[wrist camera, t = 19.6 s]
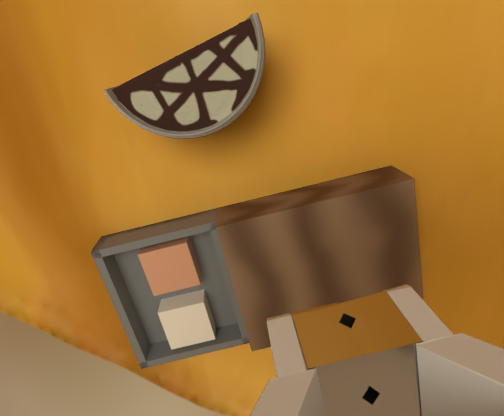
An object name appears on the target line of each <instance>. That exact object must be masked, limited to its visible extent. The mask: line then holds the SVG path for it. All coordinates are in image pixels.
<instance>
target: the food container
mask: <svg viewBox="0 0 504 416" xmlns="http://www.w3.org/2000/svg"><path fill="white" fill-rule="evenodd" d="M264 63H265V39H264V34H263V28H262V24H261V21H260V18H259V15H258V13H253V14H252V15H251V16H250V17H249V18H248V19H247V20H246V21H244V22H241V23H239V24H238V25H236V26H235V27H233V28H231V29H229V30H227V31H225V32H223V33H221V34H219V35H217V36H215V37H213V38H211V39H209V40H207V41H206V42H204V43H202V44H200V45H197V46H196V47H194V48H192V49H190V50H188V51H186V52H184V53H182V54H180V55H178V56H175V57H174V58H172V59H170V60H169V61H167V62H165V63H163V64H161V65H159V66H157V67H155V68H153V69H151V70H149V71H147V72H145V73H143V74H141V75H139V76H137V77H135V78H133V79H131V80H129V81H127V82H125V83H124V84H122V85H120V86H116V87H113V88H109V89H106V90H104V93H105V94H106V96H107V97H108V99H109V100H110V102H111V103H112V104H113V105H114V106H115V107H116V108H117V109H118V110H119V112H120V113H122V114H123V115H124V116H125V117H126V118H128V119H129V120H130V121H131V122H133V123H135V124H136V125H138V126H139V127H141V128H143V129H145V130H147V131H150V132H152V133H154V134H158V135H161V136H165V137H169V138H178V139H191V138H199V137H203V136H208V135H210V134H213V133H215V132H218V131H220V130H222V129H223V128H225V127H227V126H228V125H230V124H231V123H232V122H234V121H235V120H236V119H237V118H238V117H240V115H241V114H242V113H243V112H244V111H245V110H246V109H247V107H248V106H249V104H250V103H251V101H252V100H253V98H254V96H255V94H256V92H257V90H258V87H259V85H260V83H261V79H262V75H263V71H264Z"/></svg>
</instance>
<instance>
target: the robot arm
mask: <svg viewBox="0 0 504 416" xmlns="http://www.w3.org/2000/svg"><path fill="white" fill-rule="evenodd" d="M267 327H268V333H269V338H270V343H271V349H272V354H273V360H274V365H275V370H276V376H277V378H273V379H270V380H269V381H268V383H267V385H266V387H265V389H264V390H263V392H262V394H261V396H260V398H259V400H258V402H257V403H256V405H255V407H254V409H253V411H252V413H251V414H250V416H504V349H502V348H499V347H497V346H494V345H492V344H489V343H487V342H484V341H481V340H479V339H476V338H474V337H471V336H469V335H466V334H463V333H460V334H455V335H454V334H453V333H452V332H451V331H450V329H449V328H448V327H447V326H446V325H445V324H444V323H443V322H442V321H441V319H440V318H439V317H438V316H437V315H436V314H435V313H434V312H433V310H432V309H431V308H430V307H429V306H428V305H427V304H426V303H425V302H424V300H423V299H422V298H421V297H420V296H419V295H418V294H417V293H416V291H415V290H414V289H413V288H412V287H411V286H409V285H407V284H406V285H402V286H398V287H395V288H391V289H387V290H384V291H383V292H379V293H375V294H371V295H367V296H363V297H359V298H355V299H351V300H347V301H343V302H339V303H333V304H328V305H323V306H319V307H314V308H310V309H305V310H301V311H296V312H291V314H290V313H288V314H283V315H279V316H275V317H271V318H267Z"/></svg>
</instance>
